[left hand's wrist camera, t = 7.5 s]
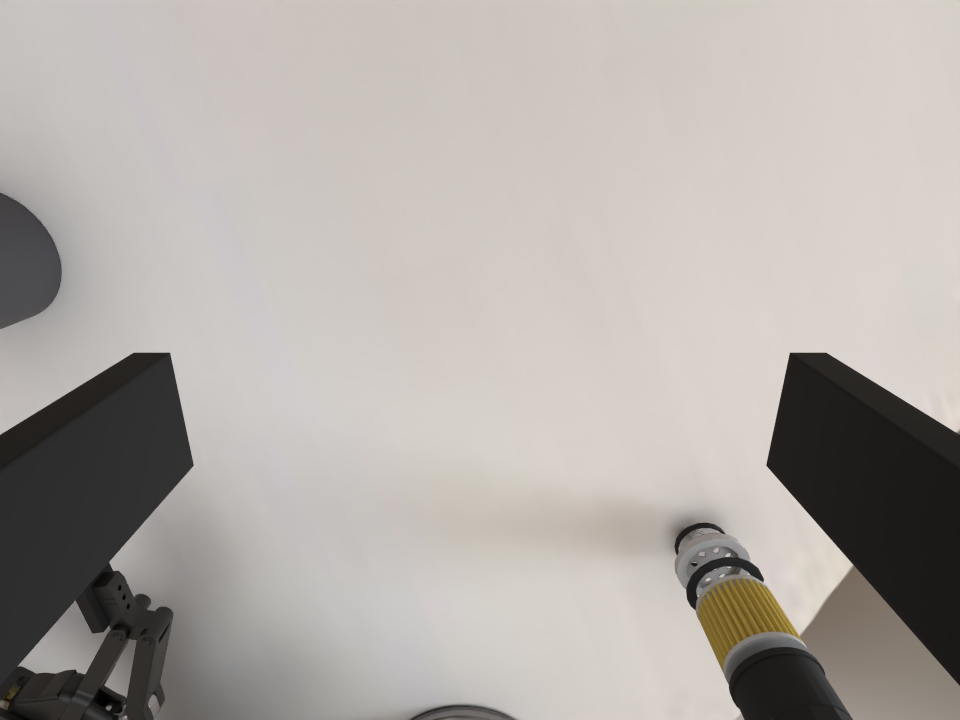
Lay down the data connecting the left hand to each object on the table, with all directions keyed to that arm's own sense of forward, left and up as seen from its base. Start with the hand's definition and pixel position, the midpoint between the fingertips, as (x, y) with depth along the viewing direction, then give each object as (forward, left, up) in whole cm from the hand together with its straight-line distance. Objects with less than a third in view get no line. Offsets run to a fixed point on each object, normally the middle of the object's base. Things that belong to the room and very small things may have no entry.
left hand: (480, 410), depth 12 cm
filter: (+25, +18, -28) cm, 42 cm away
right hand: (+19, -32, -18) cm, 42 cm away
